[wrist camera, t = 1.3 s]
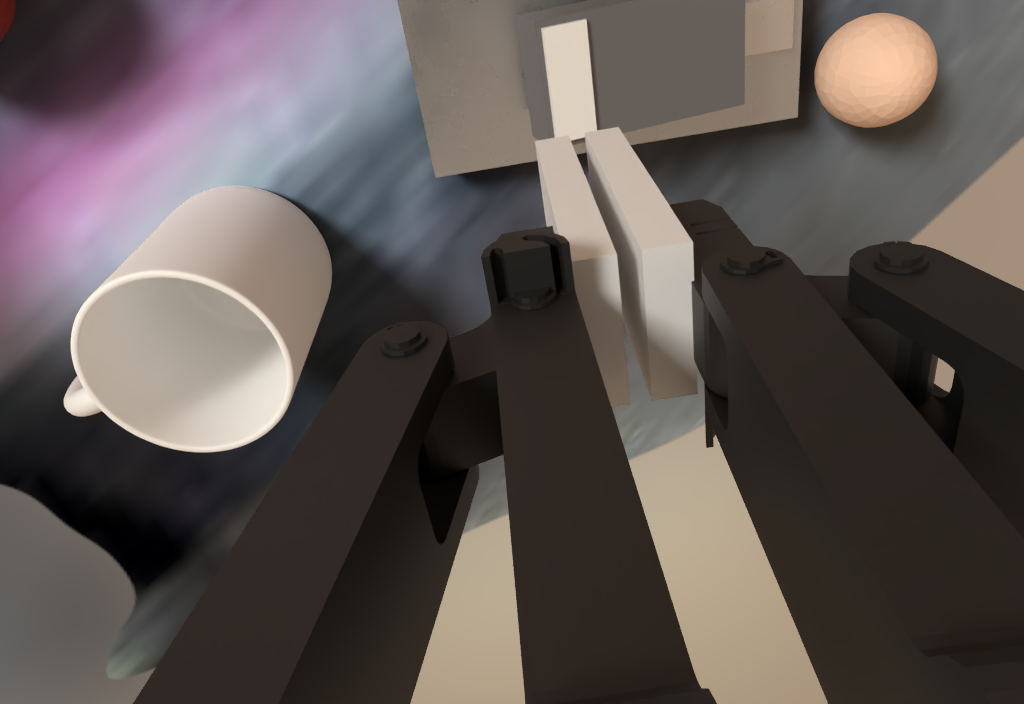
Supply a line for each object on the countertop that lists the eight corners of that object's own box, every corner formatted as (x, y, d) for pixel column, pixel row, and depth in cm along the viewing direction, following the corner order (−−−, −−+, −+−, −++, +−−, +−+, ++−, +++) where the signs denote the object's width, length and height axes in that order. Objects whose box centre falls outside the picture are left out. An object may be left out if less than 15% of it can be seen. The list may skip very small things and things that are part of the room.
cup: (366, 290, 38) (335, 403, 30) (181, 383, 41) (102, 513, 32) (269, 149, 34) (200, 232, 26) (70, 261, 37) (-55, 372, 28)
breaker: (532, 135, 30) (552, 151, 28) (515, 15, 27) (536, 22, 25) (714, 93, 31) (747, 105, 29) (712, -26, 29) (748, -23, 27)
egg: (917, 40, 33) (992, 63, 28) (848, 128, 35) (908, 163, 30) (843, -15, 32) (909, 0, 27) (776, 79, 34) (827, 109, 29)
